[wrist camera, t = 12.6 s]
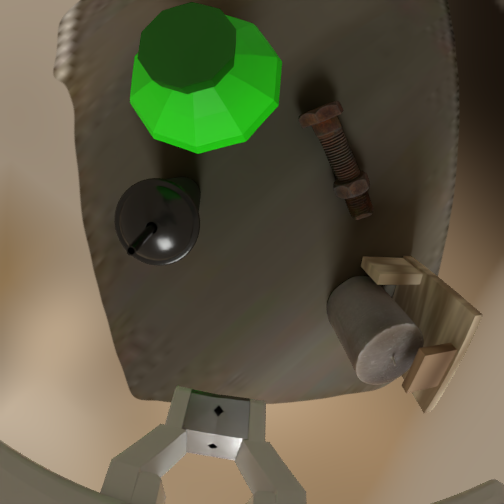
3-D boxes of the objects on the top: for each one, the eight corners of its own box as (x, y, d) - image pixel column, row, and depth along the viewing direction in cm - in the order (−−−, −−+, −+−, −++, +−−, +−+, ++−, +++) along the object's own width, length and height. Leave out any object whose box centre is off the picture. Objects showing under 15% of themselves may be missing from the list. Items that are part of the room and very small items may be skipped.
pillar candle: (371, 328, 46) (410, 388, 32) (318, 327, 45) (348, 395, 31) (389, 276, 43) (441, 328, 29) (334, 271, 42) (376, 330, 28)
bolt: (348, 209, 41) (305, 112, 35) (381, 201, 38) (339, 98, 32) (343, 230, 36) (293, 118, 31) (380, 221, 33) (333, 102, 28)
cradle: (342, 342, 47) (380, 424, 30) (363, 253, 41) (429, 321, 24) (386, 339, 47) (431, 410, 30) (411, 255, 42) (482, 314, 25)
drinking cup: (224, 200, 37) (213, 261, 19) (178, 235, 38) (133, 320, 20) (187, 153, 35) (134, 166, 16) (142, 191, 36) (62, 241, 17)
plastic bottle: (277, 102, 33) (354, 35, 10) (222, 164, 36) (196, 207, 12) (215, 54, 30) (187, -67, 7) (161, 117, 33) (42, 87, 10)
